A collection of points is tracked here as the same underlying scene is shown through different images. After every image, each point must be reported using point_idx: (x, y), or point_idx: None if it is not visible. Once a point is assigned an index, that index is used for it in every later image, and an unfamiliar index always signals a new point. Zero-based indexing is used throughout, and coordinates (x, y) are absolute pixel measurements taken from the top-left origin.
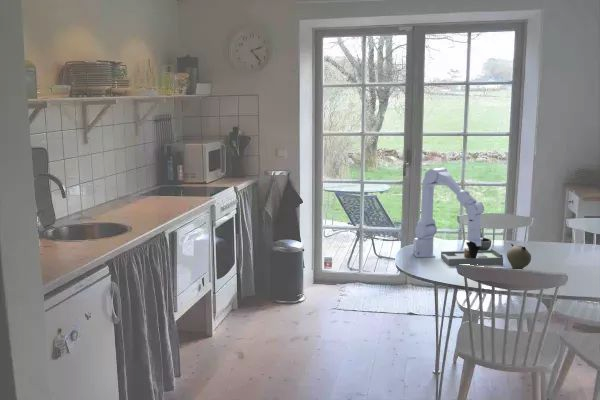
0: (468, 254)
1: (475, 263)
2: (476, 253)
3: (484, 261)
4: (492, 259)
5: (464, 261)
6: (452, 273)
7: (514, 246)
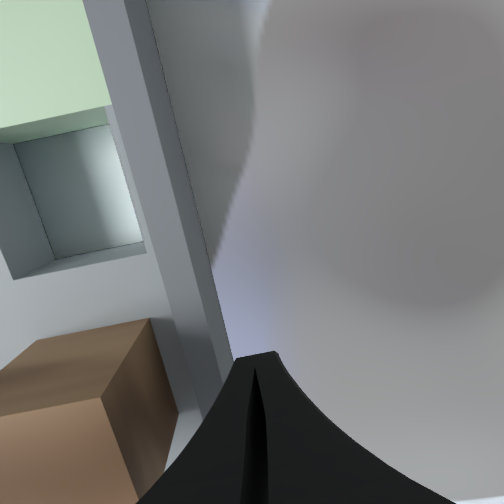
0: (160, 449)
1: (216, 304)
2: (296, 394)
3: (184, 201)
4: (147, 76)
5: None
6: (498, 499)
7: None
